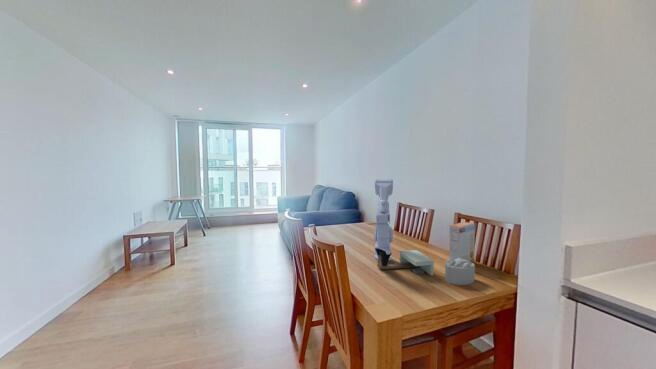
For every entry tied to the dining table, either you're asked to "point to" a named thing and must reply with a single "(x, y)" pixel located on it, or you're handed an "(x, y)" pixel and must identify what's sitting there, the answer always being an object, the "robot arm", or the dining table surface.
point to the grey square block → (417, 270)
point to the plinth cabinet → (417, 260)
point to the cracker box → (462, 241)
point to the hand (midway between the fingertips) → (382, 264)
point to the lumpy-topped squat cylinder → (459, 271)
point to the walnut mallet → (401, 265)
